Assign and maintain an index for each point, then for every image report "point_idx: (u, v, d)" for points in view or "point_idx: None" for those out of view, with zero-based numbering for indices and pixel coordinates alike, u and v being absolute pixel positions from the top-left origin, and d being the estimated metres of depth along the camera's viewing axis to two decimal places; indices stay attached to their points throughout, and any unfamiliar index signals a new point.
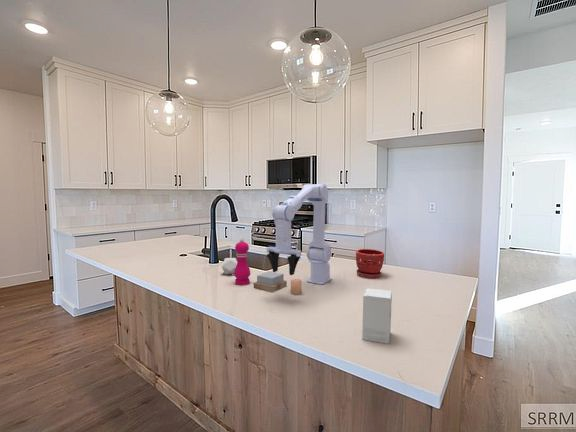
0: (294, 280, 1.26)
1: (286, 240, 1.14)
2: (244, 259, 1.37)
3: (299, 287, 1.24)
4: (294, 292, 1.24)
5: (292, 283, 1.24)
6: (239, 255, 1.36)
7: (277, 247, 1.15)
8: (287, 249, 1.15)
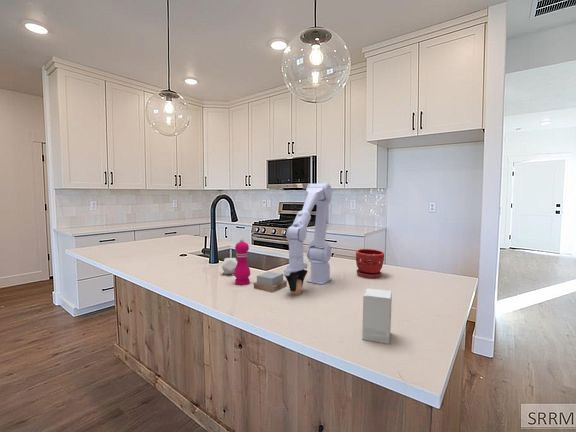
0: None
1: (289, 258, 1.24)
2: (244, 259, 1.37)
3: (299, 287, 1.24)
4: (294, 292, 1.24)
5: None
6: (239, 255, 1.36)
7: None
8: (290, 267, 1.24)
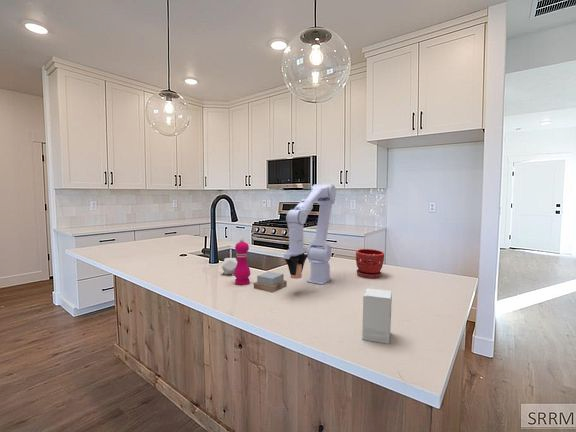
0: None
1: (289, 242, 1.23)
2: (244, 259, 1.37)
3: (299, 271, 1.24)
4: (294, 276, 1.23)
5: None
6: (239, 255, 1.36)
7: None
8: (290, 250, 1.23)
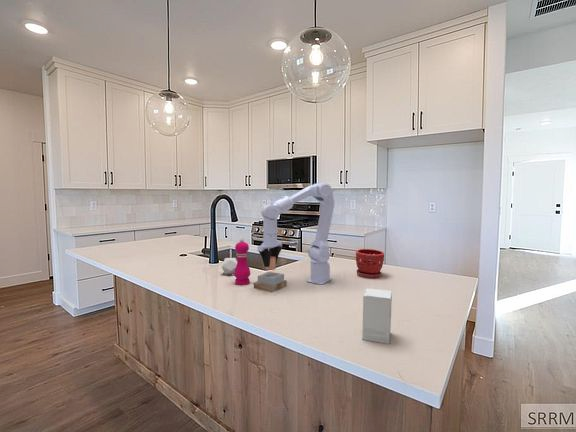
0: None
1: (263, 235, 1.30)
2: (244, 259, 1.37)
3: (273, 263, 1.31)
4: (268, 268, 1.30)
5: None
6: (239, 255, 1.36)
7: None
8: (264, 243, 1.30)
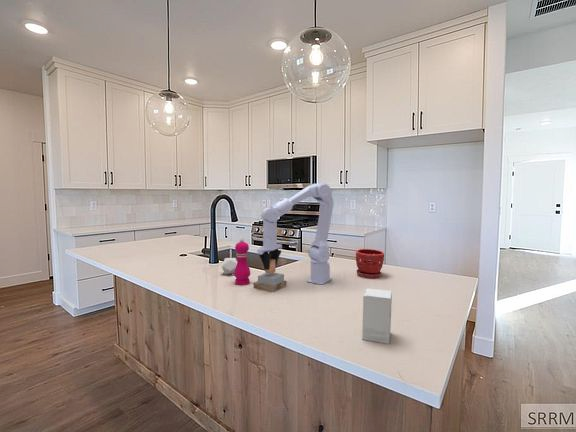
0: None
1: (263, 238, 1.30)
2: (244, 259, 1.37)
3: (273, 266, 1.31)
4: (268, 271, 1.31)
5: None
6: (239, 255, 1.36)
7: None
8: (264, 246, 1.30)
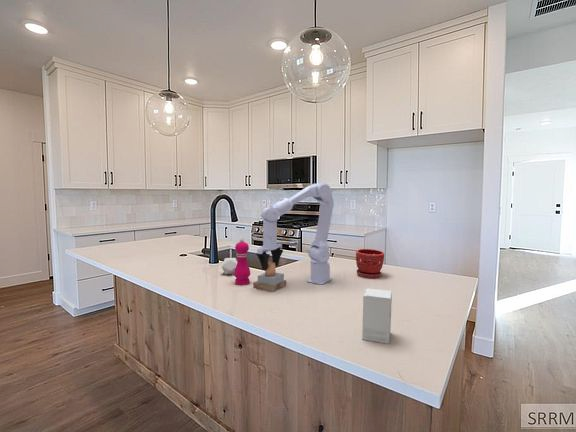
0: (268, 262, 1.33)
1: (263, 238, 1.30)
2: (244, 259, 1.37)
3: (273, 269, 1.31)
4: (268, 274, 1.30)
5: None
6: (239, 255, 1.36)
7: None
8: (264, 246, 1.30)
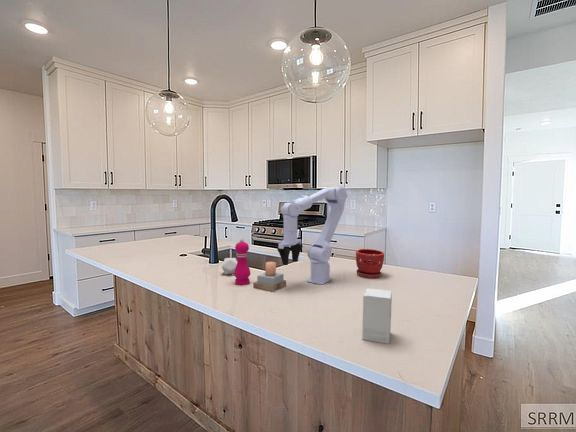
0: (269, 262, 1.33)
1: (284, 233, 1.30)
2: (244, 259, 1.37)
3: (273, 269, 1.31)
4: (268, 274, 1.31)
5: (266, 265, 1.31)
6: (239, 255, 1.36)
7: None
8: (284, 241, 1.30)
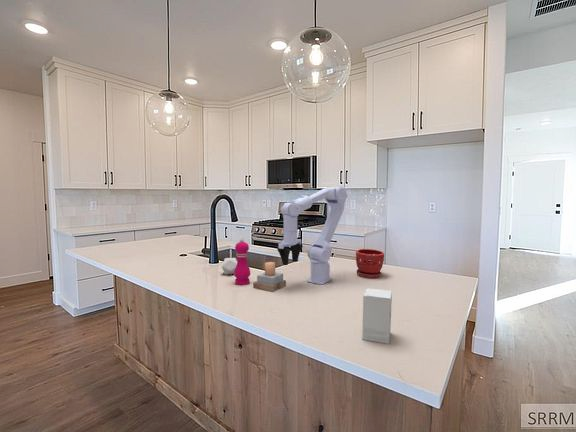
0: (268, 262, 1.33)
1: (284, 233, 1.30)
2: (244, 259, 1.37)
3: (272, 269, 1.31)
4: (267, 274, 1.31)
5: (265, 265, 1.31)
6: (239, 255, 1.36)
7: None
8: (284, 241, 1.30)
